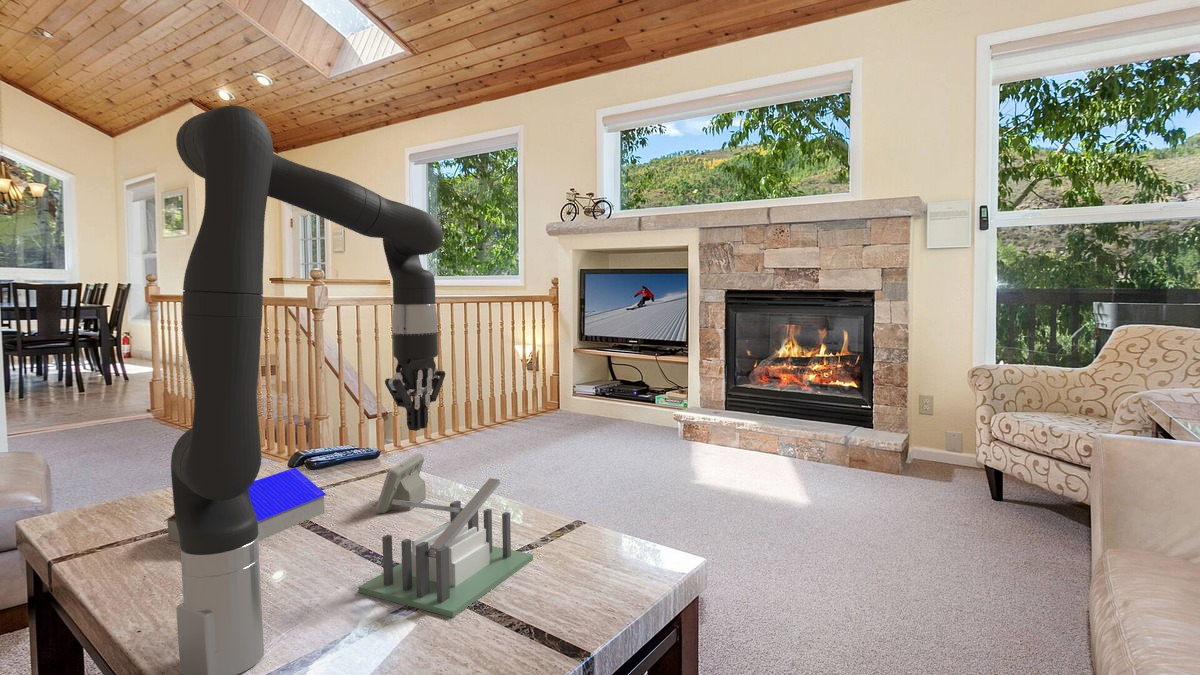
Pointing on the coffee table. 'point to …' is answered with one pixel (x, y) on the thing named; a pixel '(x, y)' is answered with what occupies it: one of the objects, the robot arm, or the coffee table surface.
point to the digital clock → (403, 485)
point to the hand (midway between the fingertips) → (417, 428)
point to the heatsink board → (447, 567)
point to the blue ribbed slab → (277, 503)
